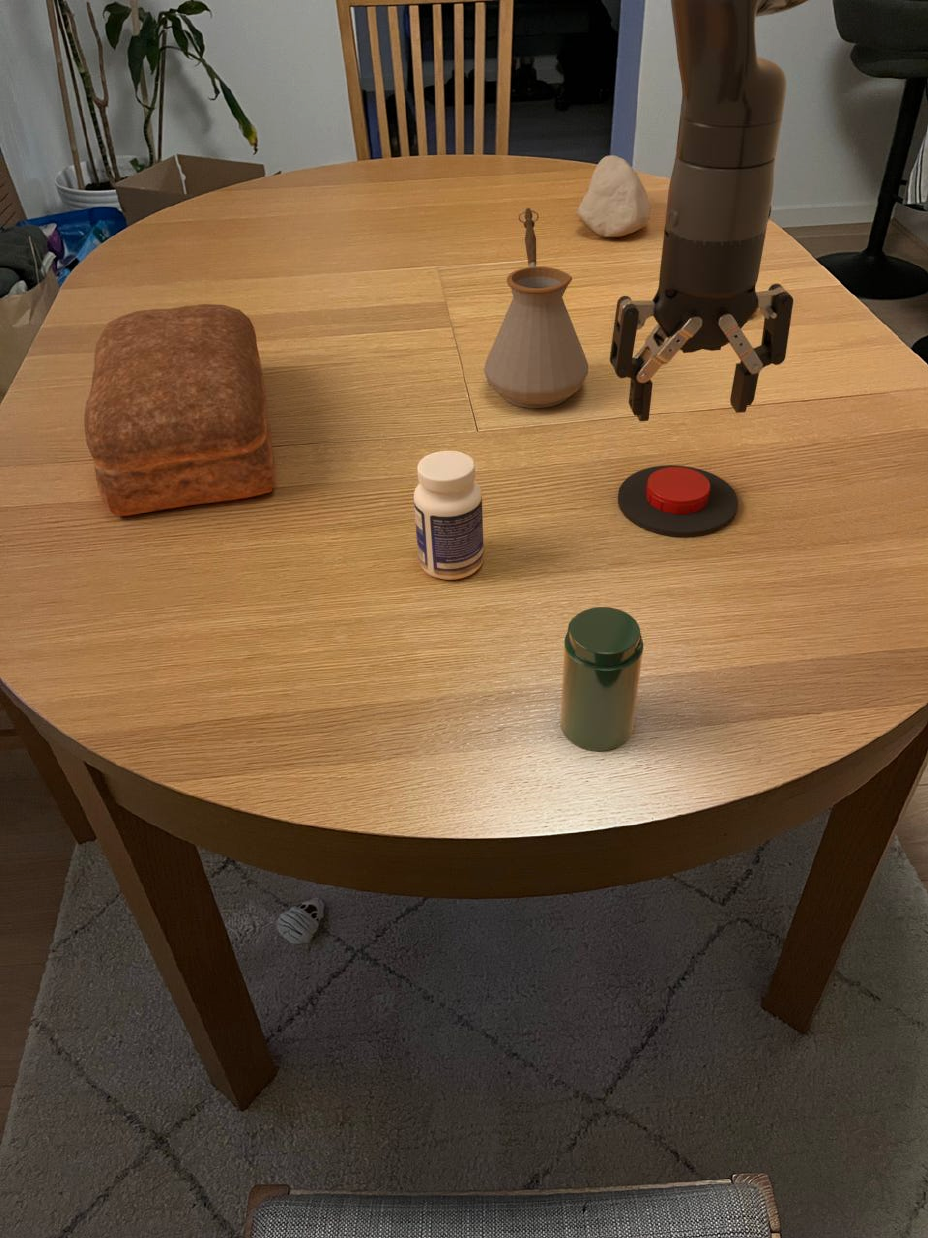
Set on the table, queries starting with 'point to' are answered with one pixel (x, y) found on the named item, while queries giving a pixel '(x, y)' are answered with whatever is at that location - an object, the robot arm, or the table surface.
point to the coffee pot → (536, 337)
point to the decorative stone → (615, 199)
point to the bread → (178, 410)
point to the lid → (677, 490)
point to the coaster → (686, 525)
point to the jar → (600, 678)
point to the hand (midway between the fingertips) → (689, 412)
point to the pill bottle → (448, 515)
